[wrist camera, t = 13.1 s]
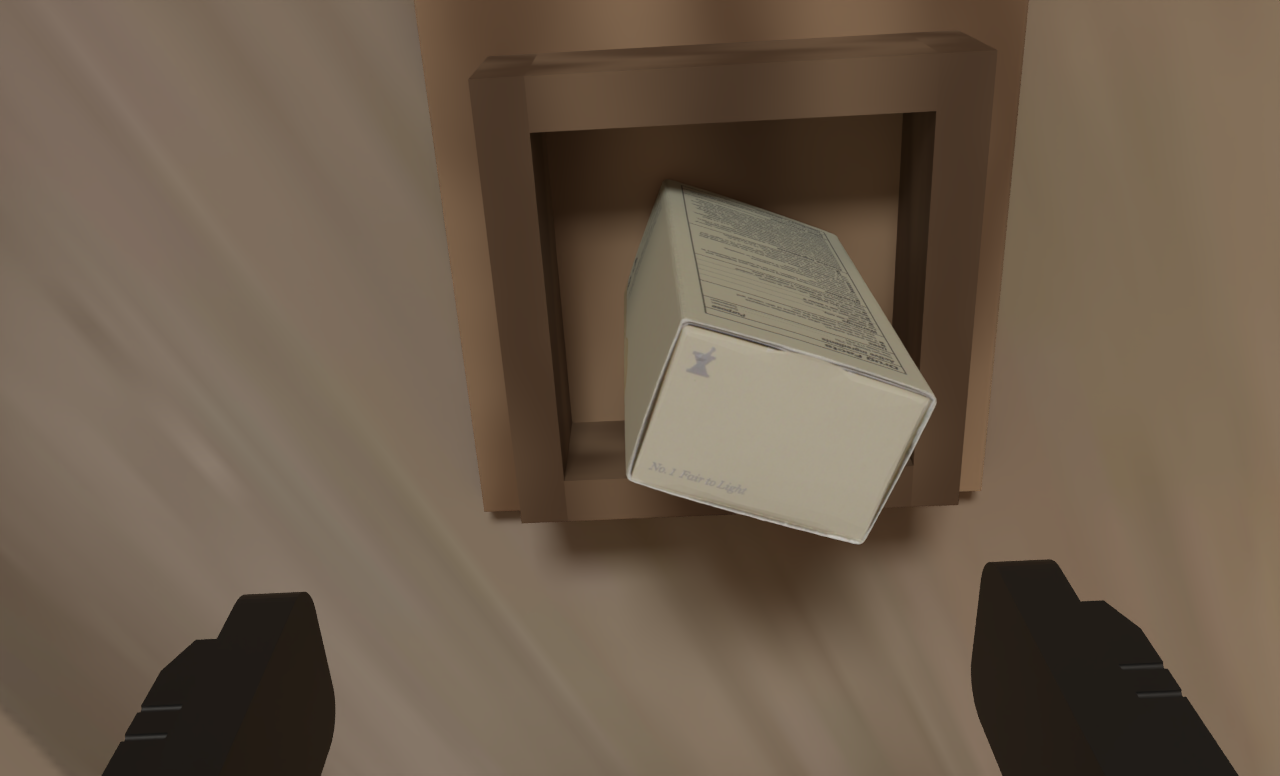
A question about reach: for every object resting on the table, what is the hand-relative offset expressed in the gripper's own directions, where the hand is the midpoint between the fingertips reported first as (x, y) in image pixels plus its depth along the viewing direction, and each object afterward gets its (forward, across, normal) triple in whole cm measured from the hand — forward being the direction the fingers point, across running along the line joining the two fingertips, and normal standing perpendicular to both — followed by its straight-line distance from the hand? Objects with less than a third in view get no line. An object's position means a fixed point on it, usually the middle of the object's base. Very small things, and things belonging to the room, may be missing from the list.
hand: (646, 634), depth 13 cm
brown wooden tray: (+24, -3, +4) cm, 24 cm away
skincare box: (+23, -3, +4) cm, 24 cm away
